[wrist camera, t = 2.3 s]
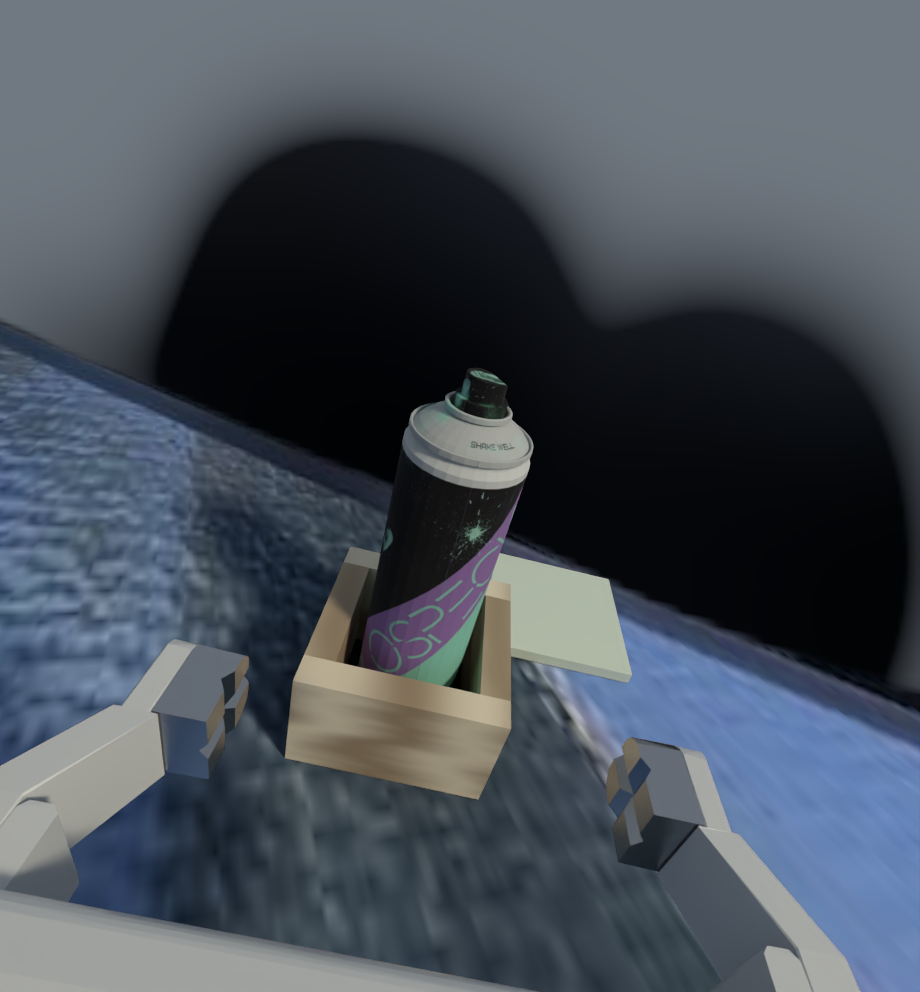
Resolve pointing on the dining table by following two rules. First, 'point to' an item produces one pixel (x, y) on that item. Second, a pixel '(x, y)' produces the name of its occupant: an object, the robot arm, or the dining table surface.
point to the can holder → (401, 697)
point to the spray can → (444, 530)
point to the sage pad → (563, 618)
